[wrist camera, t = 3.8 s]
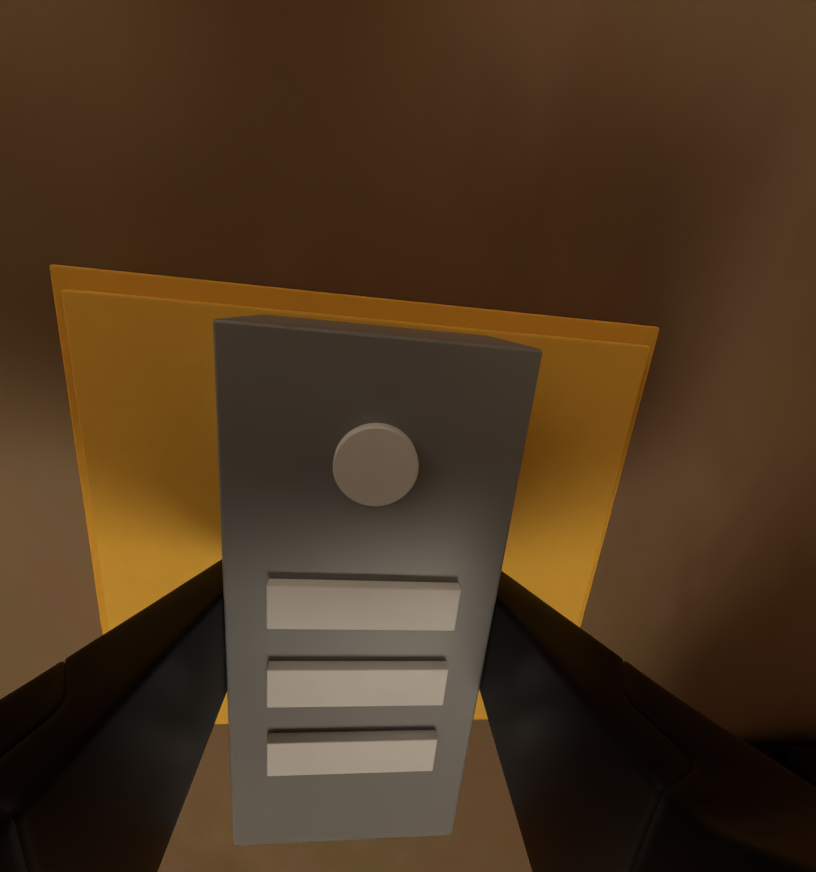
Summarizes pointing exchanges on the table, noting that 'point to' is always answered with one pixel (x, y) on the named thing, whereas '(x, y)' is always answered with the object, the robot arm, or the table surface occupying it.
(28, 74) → the table surface
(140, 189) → the table surface
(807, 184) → the table surface
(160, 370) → the cushion
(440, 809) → the remote
